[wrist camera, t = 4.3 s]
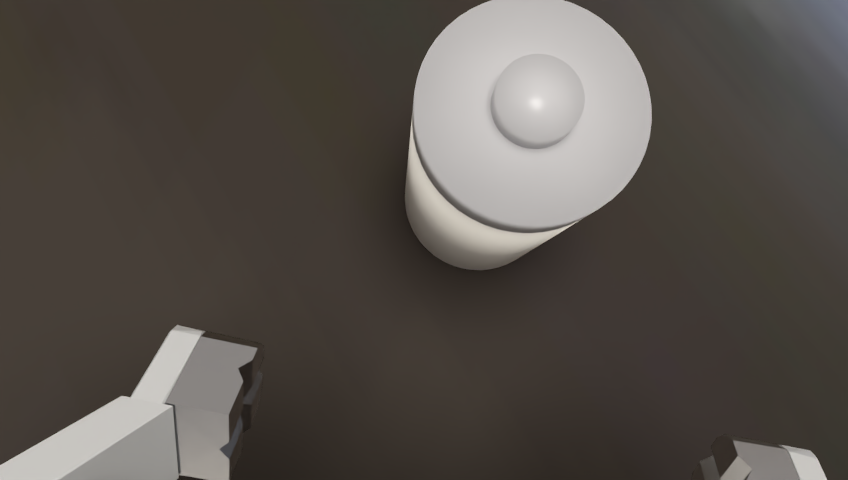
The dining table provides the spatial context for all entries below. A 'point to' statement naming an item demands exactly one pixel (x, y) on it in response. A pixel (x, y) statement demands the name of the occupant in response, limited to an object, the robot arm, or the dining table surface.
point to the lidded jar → (520, 129)
